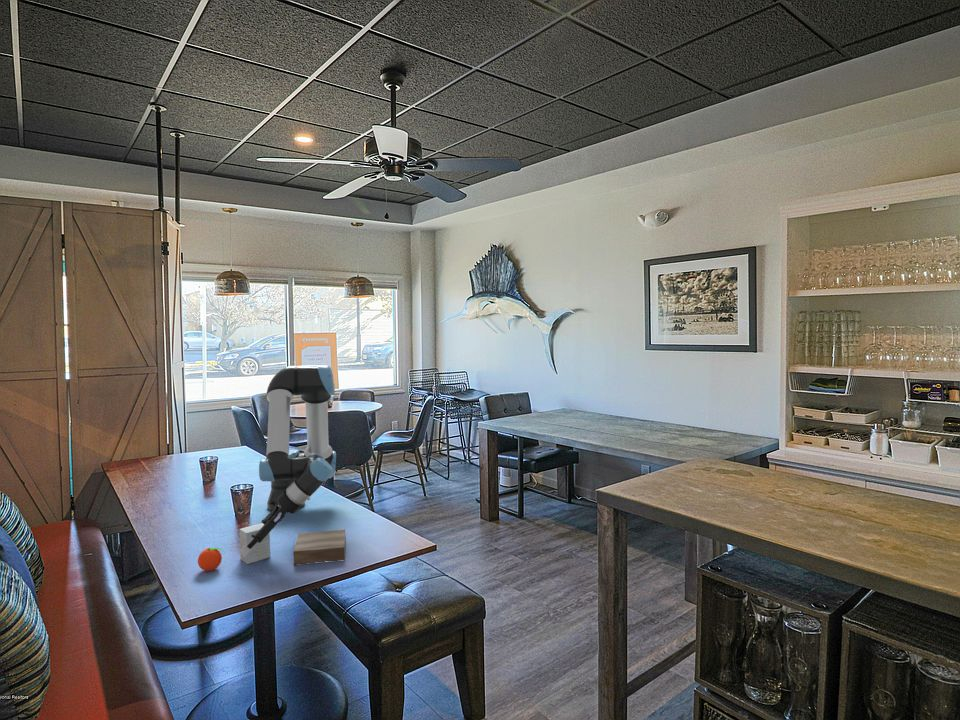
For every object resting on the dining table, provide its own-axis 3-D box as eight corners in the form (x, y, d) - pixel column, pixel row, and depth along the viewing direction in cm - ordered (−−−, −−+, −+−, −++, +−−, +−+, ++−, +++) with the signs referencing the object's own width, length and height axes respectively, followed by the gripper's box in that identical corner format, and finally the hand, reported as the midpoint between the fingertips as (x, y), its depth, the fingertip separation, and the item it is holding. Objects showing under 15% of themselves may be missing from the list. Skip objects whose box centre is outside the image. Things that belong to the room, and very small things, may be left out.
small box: (263, 552, 195) (262, 522, 194) (270, 557, 191) (269, 526, 190) (240, 559, 189) (238, 528, 188) (246, 564, 185) (245, 533, 184)
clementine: (225, 563, 187) (224, 541, 186) (226, 571, 181) (225, 549, 180) (197, 568, 183) (196, 546, 182) (198, 576, 177) (197, 554, 176)
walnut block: (298, 547, 200) (298, 533, 200) (345, 543, 204) (345, 529, 203) (293, 566, 185) (293, 551, 184) (344, 561, 188) (344, 547, 188)
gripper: (298, 515, 181) (247, 569, 179) (305, 495, 202) (259, 542, 200) (280, 500, 180) (228, 554, 178) (289, 481, 201) (242, 529, 199)
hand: (244, 548), depth 189 cm, fingers closed on small box, 9 cm apart
